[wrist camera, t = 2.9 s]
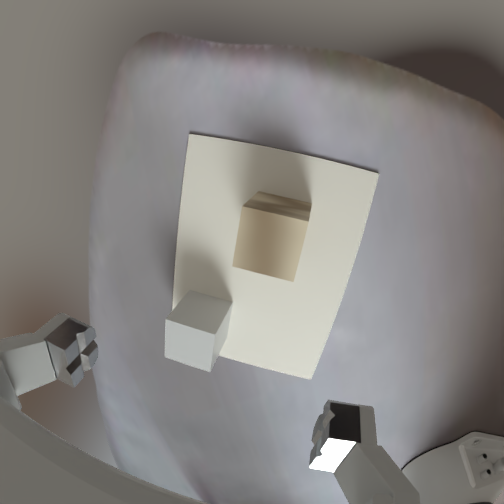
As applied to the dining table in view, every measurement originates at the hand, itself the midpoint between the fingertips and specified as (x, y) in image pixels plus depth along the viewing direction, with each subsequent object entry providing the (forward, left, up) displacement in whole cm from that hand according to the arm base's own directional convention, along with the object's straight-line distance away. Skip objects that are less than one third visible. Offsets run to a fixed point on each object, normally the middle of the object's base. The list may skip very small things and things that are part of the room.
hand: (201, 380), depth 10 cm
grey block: (+5, +11, -19) cm, 23 cm away
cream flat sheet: (+1, +5, -19) cm, 20 cm away
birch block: (0, 0, -19) cm, 19 cm away
